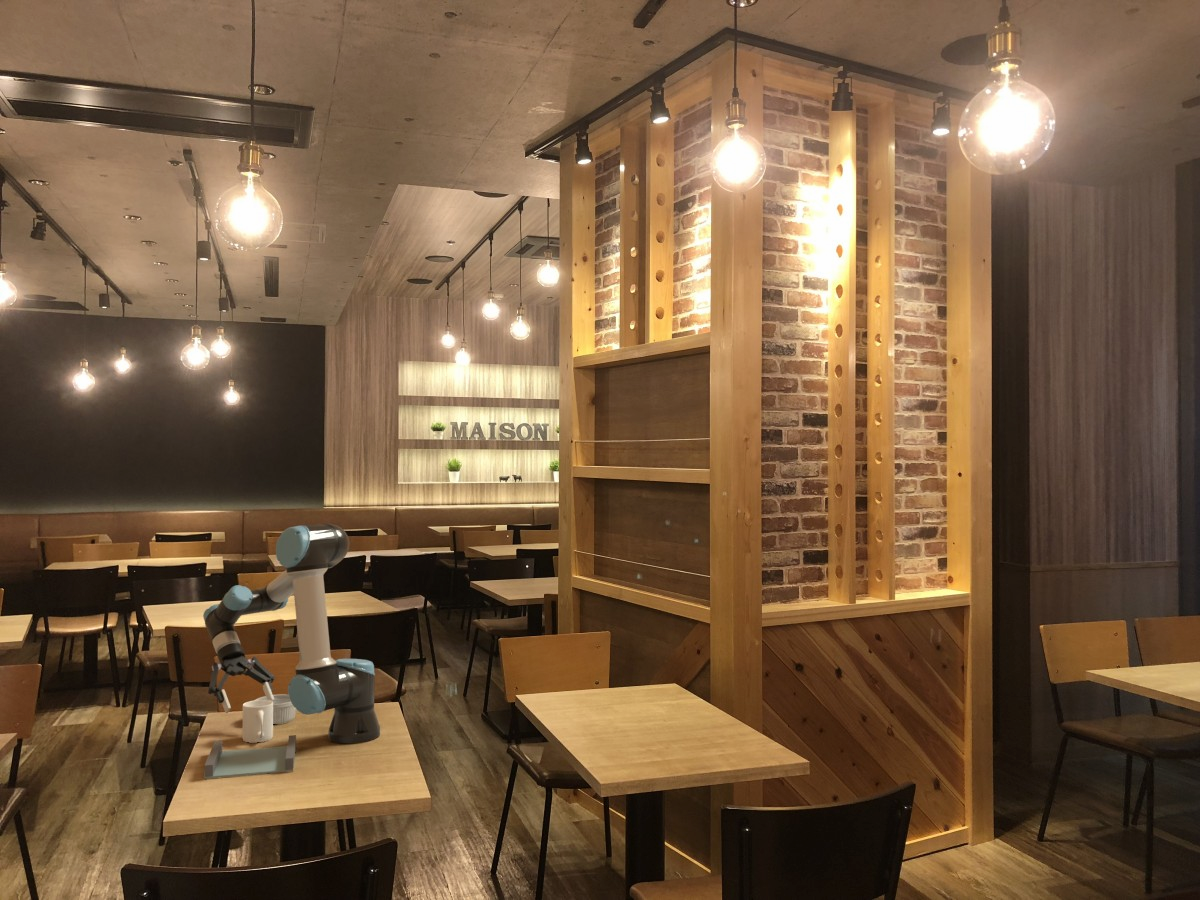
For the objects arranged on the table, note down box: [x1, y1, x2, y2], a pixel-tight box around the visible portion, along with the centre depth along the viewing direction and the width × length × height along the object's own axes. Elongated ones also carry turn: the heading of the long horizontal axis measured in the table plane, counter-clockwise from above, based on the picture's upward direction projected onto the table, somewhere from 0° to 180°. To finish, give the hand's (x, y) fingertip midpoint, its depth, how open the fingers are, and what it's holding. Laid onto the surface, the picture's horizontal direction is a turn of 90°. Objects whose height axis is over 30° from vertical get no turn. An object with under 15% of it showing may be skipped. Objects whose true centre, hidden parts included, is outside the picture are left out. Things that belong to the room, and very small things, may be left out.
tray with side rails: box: [204, 734, 297, 780], centre depth 256 cm, size 22×22×4 cm
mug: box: [241, 699, 274, 744], centre depth 276 cm, size 9×12×11 cm
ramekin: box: [255, 693, 297, 725], centre depth 298 cm, size 13×13×7 cm
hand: (250, 706), depth 279 cm, fingers open, 13 cm apart
